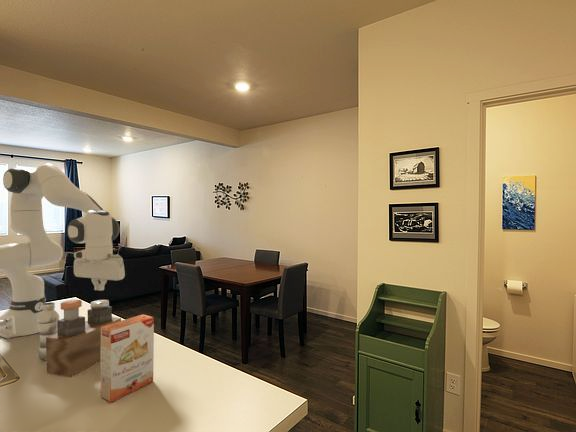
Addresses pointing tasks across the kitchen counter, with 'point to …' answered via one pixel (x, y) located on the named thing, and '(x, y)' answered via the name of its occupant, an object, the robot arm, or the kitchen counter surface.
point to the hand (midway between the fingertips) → (99, 290)
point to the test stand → (77, 343)
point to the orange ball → (71, 309)
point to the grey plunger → (99, 304)
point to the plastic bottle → (47, 326)
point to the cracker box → (126, 356)
